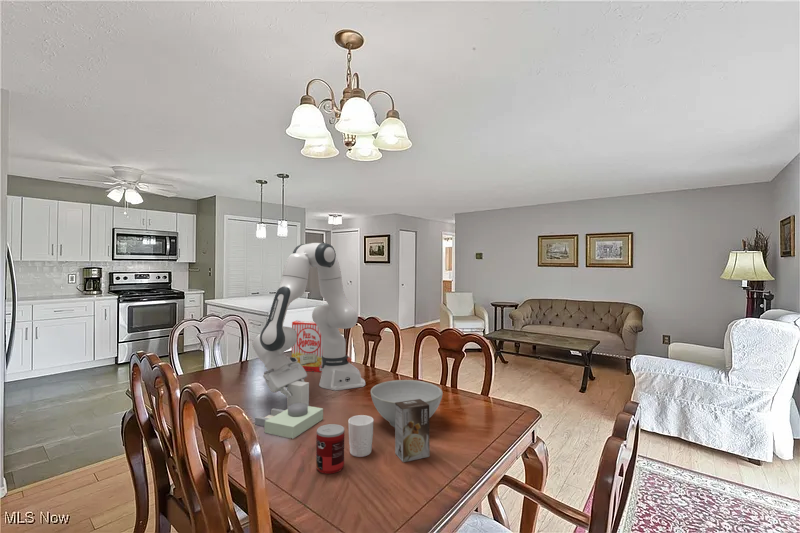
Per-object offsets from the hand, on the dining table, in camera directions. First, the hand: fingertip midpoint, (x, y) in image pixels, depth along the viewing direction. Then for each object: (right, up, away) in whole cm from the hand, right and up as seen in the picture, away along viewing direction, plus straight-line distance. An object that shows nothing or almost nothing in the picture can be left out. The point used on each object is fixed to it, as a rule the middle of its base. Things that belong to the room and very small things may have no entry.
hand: (298, 393), depth 156 cm
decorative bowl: (+44, -7, -14) cm, 47 cm away
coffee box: (+46, -7, -38) cm, 60 cm away
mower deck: (-1, -6, -16) cm, 17 cm away
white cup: (+29, -6, -37) cm, 47 cm away
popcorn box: (-8, -6, +56) cm, 57 cm away
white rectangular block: (0, -6, 0) cm, 6 cm away
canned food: (+22, -6, -46) cm, 51 cm away
